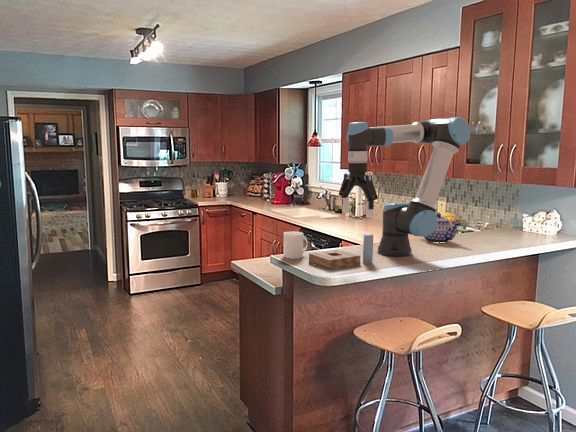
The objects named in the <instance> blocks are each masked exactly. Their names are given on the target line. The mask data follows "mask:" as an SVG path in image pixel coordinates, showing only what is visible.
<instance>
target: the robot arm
mask: <svg viewBox="0 0 576 432" xmlns="http://www.w3.org/2000/svg"><path fill="white" fill-rule="evenodd" d="M347 129H348V130H347V133H346V137H345V138H346V142H347V145H348V146H347V147H348V148H347V150H348V153H347V155H348V156H347V161H348V163H347V172H348V173H344V174H343V180H342V182H341V185H340V189H339V191H338V196H340V197H341V198H342V200H341V201H342V214H343V215H346V214H350V196H349V195H350V194H351V192H352V190H353V189H354V187H359V188H360V189H361V190H362V192H363V194H364V196H365V197H366V199H367V200H366V201H365V202H366V203H365V207H366V209H365V213H366V214H365V218H366V219H370V218H373V215H374V214H373V210H374V203H375V201H376V200H378V199H379V197H378V194H377V191H376V187H375V185H374V181H373V175H372V174H366V173H367V172H368V162H367V161H368V152H369V151H368V148H370V147H388V146H391V145H392V144H399V143H410V142H412V143H414V144H427V145H428V144H429V145H432V146H433V150H432V153H431V155H430V158H429V160H428V163H427V166H426V168H425V171H424V173H423V176H422V178H421V179H422V180H421V181H420V185H419V187H418V190H417V193H416V195H415V198H413V199H411V200H410V201H409V202H400V203H399V202H398V203H397V202H395V203H386V204H384V205H383V209H382V210H383V211H382V235H381V239H380V241H379V245H378V246H377V253H378V254H380V255H383V256H389V257H407V255H408V256H410V255H412V247H411V243H410V242H411V241H410V238H409V235H412V236H414V237H420V238H421V237H422V238H424V237H425V236H428V235H430V234H431V233H433V232H434V230H435V229H436V227H437V223H438V220H437V215H436V214H437V213H436V212H437V208H436V205H435V204H436V202H437V199H438V197H439V194H440V191H441V189H442V186H443V183H444V180H445V177H446V175H447V172H448V170H449V167H450V164H451V162H452V159H453V157H454V155H455V154H457V153H458V152H459V151H460V149H461V146H463V145H465V144H468V142H469V140H470V137H471V128H470V124H469V122H468V120H466V119H465V118H463V117H460V116H459V117H458V116H452V117H440V118H439V117H437V118H432V119H427V120H422V121H414V122H412V123H411V124H402V125H401V124H400V125H398V124H397V125H386V126H384V125H383V126H374V127H369V125H368V122H366V121H365V122H363V121H359V122H358V121H357V122H353V121H352V122H350V123H349V124H348V128H347Z"/></svg>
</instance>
